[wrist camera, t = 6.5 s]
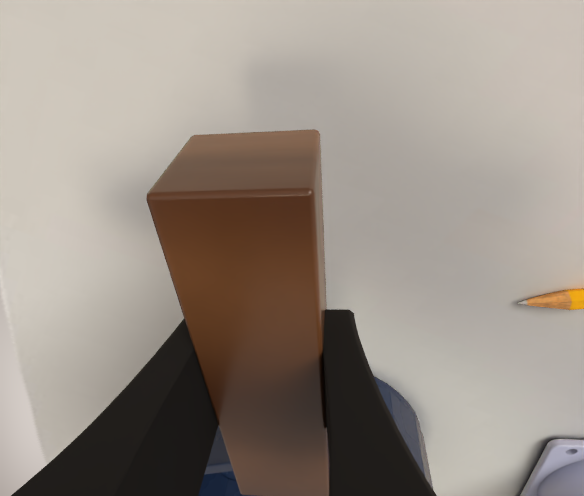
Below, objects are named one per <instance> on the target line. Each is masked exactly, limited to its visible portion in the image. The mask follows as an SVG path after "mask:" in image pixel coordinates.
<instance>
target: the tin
mask: <svg viewBox="0 0 584 496" xmlns="http://www.w3.org/2000/svg"><path fill="white" fill-rule="evenodd" d="M374 378H375V381H376V383H377V385H378V388H379V390H380V392H381V395H382V397H383V399H384V401H385V403H386V405H387V407H388V409H389V411H390V413H391V415H392V417H393V419H394V421H395V423H396V425H397V427H398V429H399V431H400V433H401V435H402V437H403V439H404V441H405V442H406V444H407V446H408V448H409V450H410V452H411V453H412V455H413V457H414V459H415V460H416V462H417V464H418V466H419V467H420V469H421V471H422V472H423V474H424V476H425V478H426V479H427V481H428V483H429V484H430V486H431V487H432V489H433V486H432V481H431V475H430V470H429V464H428V459H427V453H426V448H425V443H424V437H423V434H422V432H421V429H420V424H419V421H418V418H417V416H416V414H415V412H414V410H413V409H412V407H411V406H410V405H409V403H408V402H407V401H406V400H405V399H404V398H403V397H402V396H401V395H400V394H399V393H398V392H397V391H396V390H394V389H393V388H392V387H391V386H389V385H388V384H387V383H385V382H383V381H381V380H380V379H378V378H376V377H375V376H374ZM198 496H255V495H242V494H241V493H240V490H239V487H238V484H237V481H236V478H235V475H234V472H233V468H232V465H231V462H230V459H229V456H228V453H227V450H226V447H225V443H224V440H223V437H222V434H221V431H220V428H219V425H218V428H217V432H216V435H215V439H214V442H213V446H212V449H211V453H210V456H209V460H208V463H207V467H206V470H205V474H204V477H203V481H202V484H201V488H200V491H199V495H198Z"/></svg>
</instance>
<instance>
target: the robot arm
mask: <svg viewBox="0 0 584 496" xmlns="http://www.w3.org/2000/svg"><path fill="white" fill-rule="evenodd" d="M323 361H324V381H325V402H326V422H327V437H328V450H329V496H436V494H435V492H434V491H433V489H432V487H431V486H430V484H429V483H428V481H427V479H426V478H425V476H424V474H423V472H422V471H421V469H420V467H419V466H418V464H417V462H416V460H415V459H414V457H413V455H412V453H411V452H410V450H409V448H408V446H407V444H406V442H405V441H404V439H403V437H402V435H401V433H400V431H399V429H398V427H397V425H396V423H395V421H394V419H393V417H392V415H391V413H390V411H389V409H388V407H387V405H386V403H385V401H384V399H383V397H382V395H381V392H380V390H379V388H378V385H377V383H376V381H375V378H374V376H373V374H372V371H371V369H370V367H369V364H368V361H367V359H366V356H365V353H364V351H363V348H362V345H361V342H360V339H359V335H358V332H357V328H356V324H355V319H354V313H353V312H351V311H350V310H325V319H324V339H323ZM217 428H218V422H217V418H216V415H215V412H214V409H213V406H212V403H211V400H210V397H209V393H208V390H207V387H206V384H205V381H204V378H203V375H202V371H201V368H200V365H199V362H198V359H197V356H196V353H195V350H194V346H193V343H192V340H191V337H190V334H189V331H188V328H187V325H186V321H185V318H184V320H183V321H182V322H181V323H180V325H179V326H178V327H177V328H176V329H175V331H174V332H173V333H172V334H171V336H170V337H169V338H168V339H167V340H166V342H165V343H164V344H163V345H162V346H161V348H160V349H159V350H158V351H157V352H156V354H155V355H154V356H153V357H152V358H151V359H150V361H149V362H148V363H147V364H146V365H145V366H144V367H143V369H142V370H141V371H140V372H139V373H138V374H137V375H136V377H135V378H134V379H133V380H132V381H131V382H130V383H129V385H128V386H127V387H126V388H125V389H124V390H123V391H122V392H121V393H120V394H119V395H118V396H117V397H116V398H115V399H114V400H113V402H112V403H111V404H110V405H109V406H108V407H107V408H106V409H105V410H104V411H103V412H102V413H101V414H100V415H99V416H98V417H97V418H96V419H95V420H94V421H93V422H92V423H91V424H90V425H89V426H88V427H87V428H86V429H85V430H84V431H83V432H82V433H81V434H80V435H79V436H78V437H77V438H76V439H75V440H74V441H73V442H72V443H71V444H70V445H68V446H67V447H66V448H65V449H64V450H63V451H62V452H61V453H60V454H59V455H58V456H57V457H55V458H54V459H53V460H52V461H51V462H50V463H49V464H48V465H46V466H45V467H44V468H43V469H42V470H41V471H40V472H38V473H37V474H36V475H35V476H34V477H33V478H31V479H30V480H29V481H28V482H27V483H26V484H24V485H23V486H22V487H21V488H20V489H19V490H17V491H16V492H15V493H14V494H12V495H11V496H198V495H199V491H200V488H201V484H202V481H203V477H204V474H205V470H206V467H207V463H208V460H209V456H210V453H211V449H212V446H213V442H214V439H215V435H216V432H217ZM520 496H584V440H578V439H554V440H551V441H549V443H548V444H547V445H546V447H545V449H544V451H543V453H542V455H541V457H540V459H539V461H538V463H537V464H536V466H535V468H534V470H533V472H532V474H531V476H530V478H529V480H528V482H527V484H526V485H525V487H524V489H523V491H522V493H521V495H520Z"/></svg>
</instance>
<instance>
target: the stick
mask: <svg viewBox="0 0 584 496" xmlns="http://www.w3.org/2000/svg"><path fill="white" fill-rule="evenodd" d="M147 203H148V206H149V209H150V212H151V215H152V218H153V221H154V224H155V228H156V231H157V234H158V237H159V240H160V243H161V246H162V249H163V253H164V256H165V259H166V262H167V265H168V268H169V271H170V274H171V278H172V281H173V284H174V287H175V290H176V293H177V296H178V300H179V303H180V306H181V309H182V312H183V315H184V318H185V321H186V325H187V328H188V331H189V334H190V337H191V340H192V343H193V346H194V350H195V353H196V356H197V359H198V362H199V365H200V368H201V371H202V375H203V378H204V381H205V384H206V387H207V390H208V393H209V397H210V400H211V403H212V406H213V409H214V412H215V415H216V418H217V422H218V425H219V428H220V431H221V434H222V437H223V440H224V443H225V447H226V450H227V453H228V456H229V459H230V462H231V465H232V468H233V472H234V475H235V478H236V481H237V484H238V487H239V490H240V493H241V494H242V495H255V496H329V450H328V437H327V422H326V402H325V381H324V361H323V339H324V319H325V310H327V304H326V278H325V252H324V225H323V199H322V173H321V146H320V133H319V131H318V130H296V131H274V132H252V133H231V134H209V135H194V136H192V137H191V138H190V139H189V140H188V142H187V143H186V144H185V146H184V147H183V148H182V149H181V151H180V152H179V153H178V155H177V156H176V157H175V159H174V160H173V161H172V162H171V164H170V165H169V166H168V168H167V169H166V170H165V171H164V173H163V174H162V175H161V177H160V178H159V179H158V180H157V182H156V183H155V184H154V186H153V187H152V188H151V189H150V191H149V192H148V193H147Z"/></svg>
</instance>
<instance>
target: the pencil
mask: <svg viewBox="0 0 584 496" xmlns="http://www.w3.org/2000/svg"><path fill="white" fill-rule="evenodd" d="M519 304H524V305H530V306H539V307H549V308H558V309H568V310H574V309H584V289H572V290H563V291H558V292H553V293H549V294H545V295H541V296H538V297H534V298H530V299H527V300H524V301H521V302H519Z"/></svg>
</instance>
